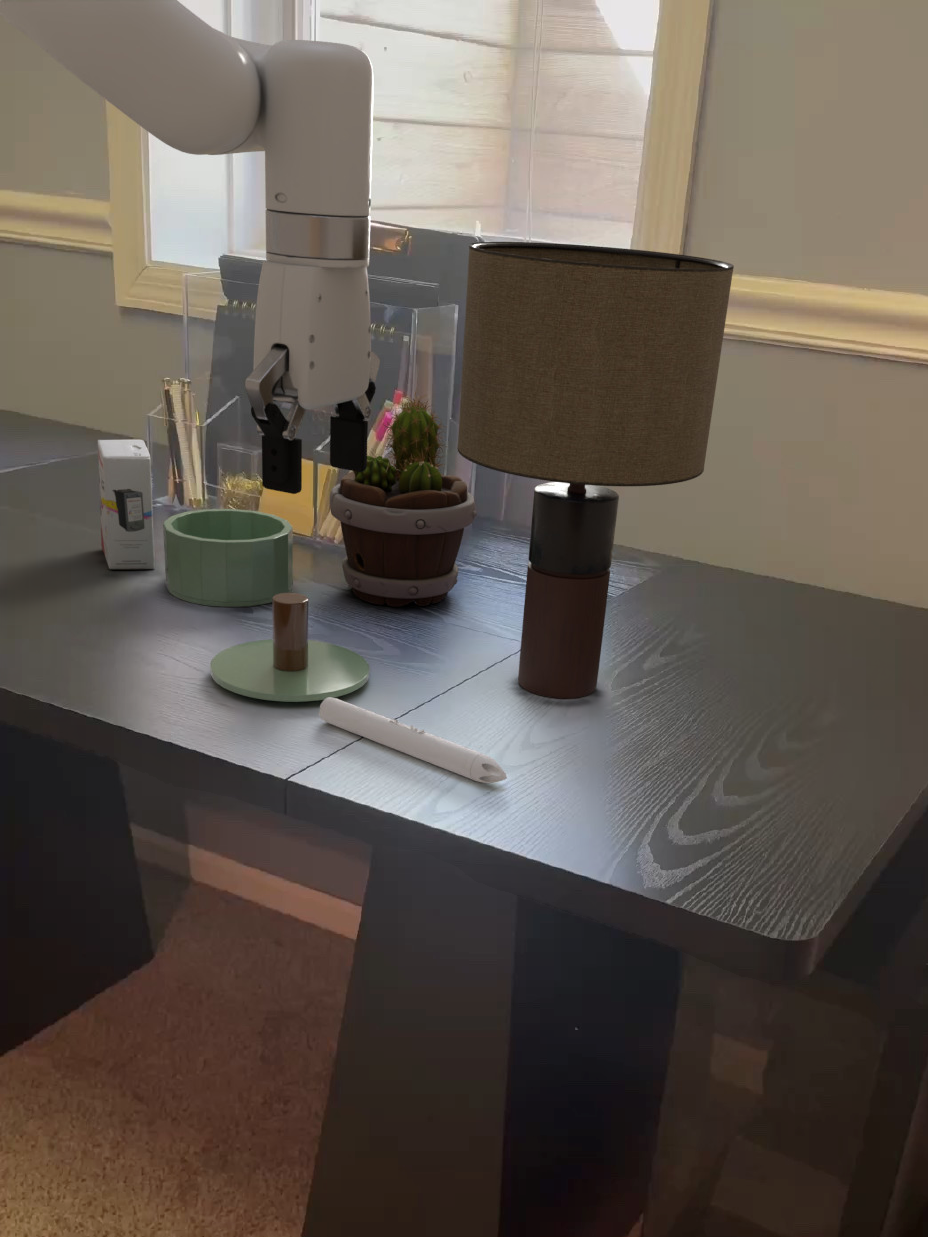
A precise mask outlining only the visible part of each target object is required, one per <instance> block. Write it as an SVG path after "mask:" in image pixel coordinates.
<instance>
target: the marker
mask: <svg viewBox="0 0 928 1237" xmlns="http://www.w3.org/2000/svg"><path fill="white" fill-rule="evenodd" d="M318 714H319V719H321V721H323V722H325V723H327V724H330V725H332V726H334V727H337V728H339V729H342V730H345V731H347V732H350V733H352V734H355V735H358V736H360V737H363V738H365V739H367V740H371V741H373V742H375V743H378V744H380V745H383V746H385V747H389V748H391V749H393V750H396V751H398V752H401V753H404V754H406V755H408V756H411V757H413V758H417V759H419V760H422V761H424V762H426V763H429V764H432V765H434V766H436V767H439V768H441V769H444V770H446V771H450V772H452V773H455V774H457V775H460V776H462V777H465V778H466V779H470V780H472V781H475V782H479V783H483V784H493V783H498V782H502V781H505V780H506V779H508V776H507V773H506V772H505V770H504V769H503V768H502V767H501V766H500V764H499V763H498V762H497V760H495V759H494V758H492V757H491V756H489V755H487V754H485V753H482V752H480V751H477V750H474V749H471V748H468V747H466V746H464V745H461V744H458V743H456V742H453V741H450V740H447V739H445V738H443V737H440V736H438V735H434V734H431V733H430V732H426V731H425V729H419V728H418V727H414V725H408V724H406V723H403V722H401V721H399V719H395V718H389V717H386V716H384V715H382V714H379V713H376V712H375V711H374V712H373V711H372V710H369V709H366V708H363V707H360V706H358V705H355V704H353V703H349V702H347V701H344V700H342V699H339V698H338V697H334V698H332V697H328V698H326V699H324V700H322V701H321V703H320V705H319V710H318Z"/></svg>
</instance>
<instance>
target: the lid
mask: <svg viewBox="0 0 928 1237" xmlns="http://www.w3.org/2000/svg"><path fill="white" fill-rule="evenodd" d="M271 610H272V639H270V638H269V639H262V640H261V639H260V640H253V641H248V642H244V643H239V644H235V645H232V646H230V647H228V648H225V649H223V650H221V651H220V652H219V653H217V654H215V655H214V657H213V658H212V660H211V661H210V664H209V669H210V675H211V678H212V680H213V681H214V682H215V683H216V684H217V685H219V686H220V687H222V688H223V689H225V690H227V691H230V692H232V693H234V694H237V695H241V696H244V697H248V698H253V699H258V700H264V701H272V702H287V703H288V702H291V703H294V702H295V703H299V702H301V703H302V702H315V701H324V700H325V699H326V698H328V697H332V698H338V697H341V696H342V697H343V696H345V695H348V694H351V693H353V692H355V691H357V690H359V689H361V688H362V687H363V686H365V684H366V683H368V680H369V678H370V671H371V670H370V665H369V663H368V661H367V660H366V659H365V657H364V656H362V655H361V654H359V653H357V652H356V651H354V650H351V649H349V648H346V647H344V646H340V645H337V644H334V643H329V642H325V641H318V640H312V639H309V597H308V596H306V595H304V594H301V593H296V592H290V593H281V594H277V595H275V596H273V598H272V609H271Z"/></svg>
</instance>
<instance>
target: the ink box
mask: <svg viewBox="0 0 928 1237" xmlns="http://www.w3.org/2000/svg"><path fill="white" fill-rule="evenodd" d="M97 454H98V455H97V456H98V457H97V458H98V482H99V483H98V485H99V486H98V487H99V508H100V509H99V510H100V536H101V537H100V539H101V540H100V541H101V542H100V543H101V549H102V552H103V555H104V558H105V561H106V564H107V566H108V569H109V570H155V568H156V567H155V565H156V564H155V563H156V562H155V537H154V512H153V511H154V510H153V487H152V467H151V466H152V464H151V462H152V461H151V455H150V452H149V450H148V447H147V445H146V443H145V440H144V439H137V438H135V439H97Z"/></svg>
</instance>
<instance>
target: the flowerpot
mask: <svg viewBox="0 0 928 1237" xmlns="http://www.w3.org/2000/svg"><path fill="white" fill-rule="evenodd" d="M417 390H418V388H417V387H416V388H415V392H414V398H412V399H411V398H410V397H409V396H405V395H404V397H403V400H406V401H405V403H403V402H401V407H399V409H400V413H397V409H395V414H393V413H392V412H391V413H390V415H391V416H390V420H392V421H391V422H389V421H387V425H388V426H387V425H385V424H384V423H382V426H384V427H386V428H387V430H386V435H387V436H389V437H387V439H386V441H387V443H386V444H387V445H384V447H385V448H387V451H389V452H387V453H386V454H388V455H389V456H388V457H383V453H384V450H382V451H383V452H382V453H381V454H380V455H379V454H378V453H377V455H376V450H375V449H372V451H367V468H366V470H365V471H362V472H357V471H350V472H348V473H346V474H345V475H344V476H342V477H341V479H340V483H337V484H336V485H334V486H333V487H332V488H331V490H330V493H329V509H330V514H331V515H332V517H334V518H335V519H336V520H337V521H339V522H340V527H341V534H342V538H343V543H344V549H345V553H346V556H345V557H344V558H343V559H342V561H341V567H342V572H343V576H344V579H345V582H346V584H347V585H348V586H350V587H351V591H352V592H353V593H354V594H353V595H354V596H355V597H356V598H358V599H360V600H362V601H364V602H367V603H371V604H373V605H379V606H380V605H381V606H382V605H384V604H386V605H387V606H389V607H393V608H394V607H395V608H396V607H397V608H398V607H403V606H406V605H409V604H410V603H412V602H414V603H415V605H417V606H419V607H426V606H428V605H430V604H437V603H440V602H441V601H443V600H444V599H445V598H446V597H447V596H448V594H449V592H450V591H451V590H452V589H453V588H454V587H455V585H456V584H458V576H459V566H458V565H457V563H456V560H457V558H458V554H459V551H460V547H461V544H462V540H463V536H464V532H465V531H464V530H465V528H467V527H469V526H471V524H473V522H474V520H475V518H476V517H477V516H478V513H477V511H476V502H475V501H476V500H475V498H474V496H473V495H472V494H471V492H468V485H467V483H466V482H465V481H463V480H462V478H460V477H459V476H457V475H453V474H448V475H445V474H443V473H441V472H440V470H441V468H444V469H445V467H444V466H446V465H445V464H444V463H441V460H439V461H438V459H442V458H444V455H443V456H440V455H439V454H441V453H442V452H444V449H443V448H442V447H444V448H447V445H446V444H443V442H444V438H443V437H444V435H443V434H442V433H445V430H443V428H448V427H447V426H443V422H442V421H439V419H440V420H441V418H440V417H439V414H437V413H435V412H436V411H435V409H434V410H432V408H430V409H429V407H432V406H434V404H431V405H429V403H428V402H429V400H427V401H426V402H422V401H421V399H423V398H424V397H426V396H427V394H425V395H423V396H421V397H420V395H418V396H417ZM416 397H417V398H416ZM419 397H420V398H419ZM438 422H439V423H438ZM439 430H441V431H439ZM389 431H390V433H389ZM438 432H439V433H438ZM439 439H442V441H441V440H439ZM390 450H391V451H390ZM369 453H371V455H372V456H371V455H368V454H369ZM392 458H393V460H392ZM391 460H392V461H391ZM440 467H441V468H440Z"/></svg>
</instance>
